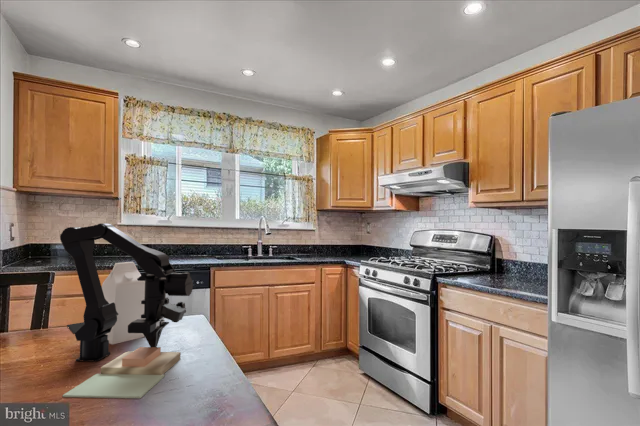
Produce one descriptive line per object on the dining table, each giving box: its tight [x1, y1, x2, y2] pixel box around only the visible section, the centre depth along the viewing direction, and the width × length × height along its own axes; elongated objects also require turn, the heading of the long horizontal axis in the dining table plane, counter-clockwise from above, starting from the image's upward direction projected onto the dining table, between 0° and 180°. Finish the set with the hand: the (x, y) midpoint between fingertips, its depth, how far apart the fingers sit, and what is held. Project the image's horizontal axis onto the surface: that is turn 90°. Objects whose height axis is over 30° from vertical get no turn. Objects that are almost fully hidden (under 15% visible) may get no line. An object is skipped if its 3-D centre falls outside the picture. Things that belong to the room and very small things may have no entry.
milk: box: [101, 261, 145, 345], centre depth 126 cm, size 12×12×26 cm
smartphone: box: [66, 321, 84, 335], centre depth 136 cm, size 7×1×15 cm
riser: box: [100, 350, 181, 375], centre depth 99 cm, size 16×12×2 cm
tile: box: [122, 346, 162, 367], centre depth 98 cm, size 6×9×2 cm, turn 178°
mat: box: [62, 373, 166, 399], centre depth 87 cm, size 18×12×1 cm, turn 89°
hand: (153, 348), depth 105 cm, fingers closed
